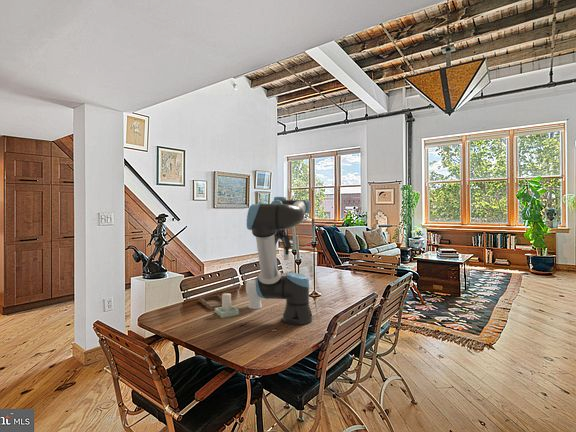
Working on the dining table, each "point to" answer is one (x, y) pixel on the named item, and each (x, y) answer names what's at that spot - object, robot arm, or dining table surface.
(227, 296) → the white rounded cylinder
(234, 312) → the dish
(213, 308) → the tray
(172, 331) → the dining table surface
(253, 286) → the cup
